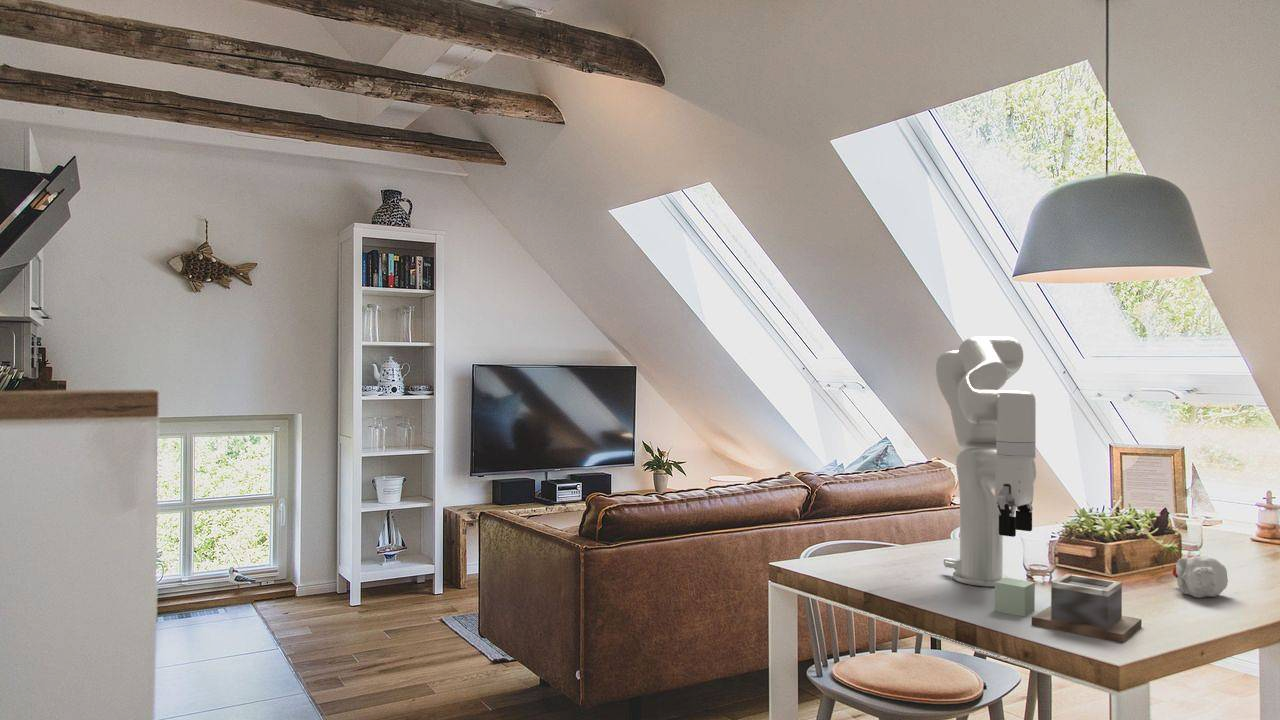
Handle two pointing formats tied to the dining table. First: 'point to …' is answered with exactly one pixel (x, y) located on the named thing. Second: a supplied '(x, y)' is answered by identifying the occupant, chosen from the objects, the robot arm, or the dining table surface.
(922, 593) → the dining table surface
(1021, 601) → the sage block
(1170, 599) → the dining table surface
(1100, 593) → the pillar base
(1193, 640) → the dining table surface
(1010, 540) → the dining table surface
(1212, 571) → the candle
